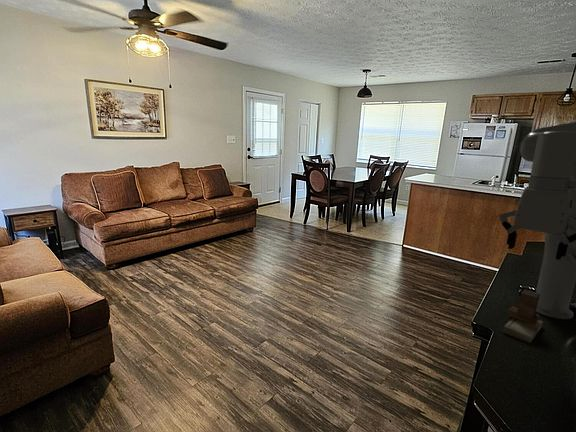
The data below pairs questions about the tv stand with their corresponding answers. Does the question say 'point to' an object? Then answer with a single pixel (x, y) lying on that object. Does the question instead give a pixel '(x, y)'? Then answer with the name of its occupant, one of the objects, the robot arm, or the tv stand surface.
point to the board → (522, 329)
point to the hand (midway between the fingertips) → (533, 253)
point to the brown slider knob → (525, 308)
